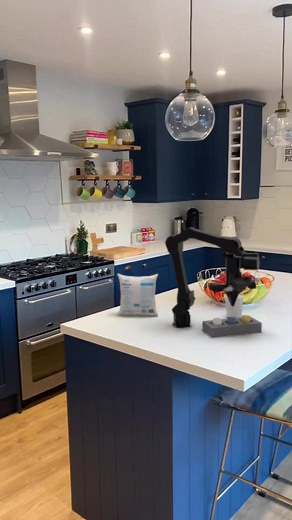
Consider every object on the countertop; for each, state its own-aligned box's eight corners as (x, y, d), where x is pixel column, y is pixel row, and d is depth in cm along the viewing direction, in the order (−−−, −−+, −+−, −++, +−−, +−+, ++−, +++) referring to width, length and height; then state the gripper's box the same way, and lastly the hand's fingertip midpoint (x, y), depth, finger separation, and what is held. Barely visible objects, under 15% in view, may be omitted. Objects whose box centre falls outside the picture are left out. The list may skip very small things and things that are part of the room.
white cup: (222, 318, 206) (223, 297, 205) (228, 314, 213) (228, 293, 212) (239, 320, 203) (240, 298, 201) (244, 316, 210) (245, 295, 208)
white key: (215, 330, 184) (215, 320, 183) (211, 327, 187) (211, 318, 187) (223, 329, 185) (223, 319, 184) (219, 326, 188) (219, 317, 188)
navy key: (229, 328, 186) (229, 319, 185) (225, 326, 189) (225, 316, 188) (237, 327, 187) (237, 318, 186) (233, 325, 190) (233, 316, 189)
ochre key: (244, 327, 187) (244, 317, 187) (239, 324, 191) (240, 315, 190) (251, 326, 188) (252, 317, 188) (247, 323, 192) (247, 314, 191)
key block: (212, 337, 181) (212, 328, 180) (202, 330, 190) (202, 321, 189) (261, 332, 186) (261, 322, 186) (249, 325, 196) (249, 316, 195)
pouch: (156, 318, 208) (156, 276, 204) (116, 317, 211) (115, 275, 208) (159, 313, 215) (159, 272, 212) (120, 312, 219) (119, 271, 216)
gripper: (220, 274, 174) (219, 313, 176) (263, 270, 179) (262, 309, 181) (208, 269, 184) (208, 306, 187) (249, 266, 189) (249, 302, 192)
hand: (232, 306), depth 186 cm, fingers closed
